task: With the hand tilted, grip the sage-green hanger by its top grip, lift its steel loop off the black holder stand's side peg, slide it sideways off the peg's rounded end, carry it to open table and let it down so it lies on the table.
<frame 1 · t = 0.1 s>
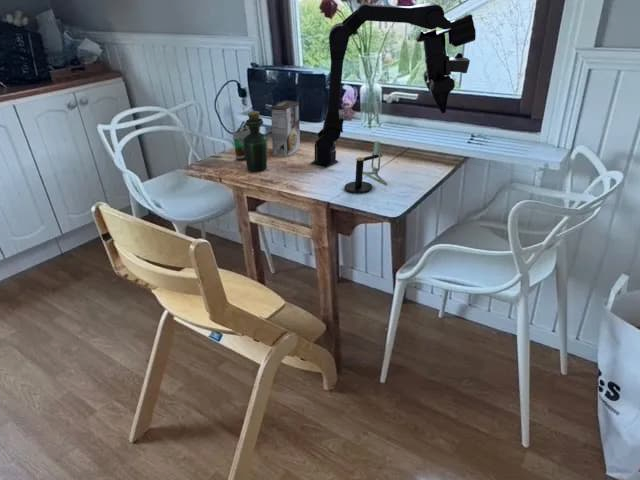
hand: (441, 108, 156), 15 cm above the table, tool pointing down, fingers open, 9 cm apart
black holder stand: (358, 188, 153), on the table
potion bottle: (256, 169, 174), on the table
hanger: (377, 147, 148), point 11 cm above the table, touching black holder stand
coffee box: (286, 152, 185), on the table
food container: (248, 156, 185), on the table
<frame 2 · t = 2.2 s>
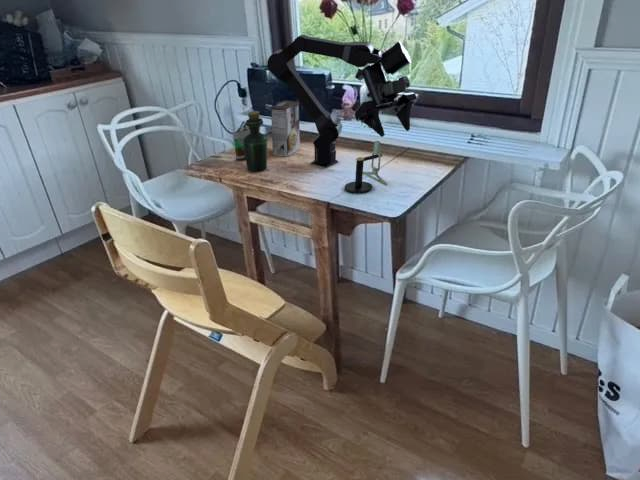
hand: (395, 133, 151), 13 cm above the table, tool tilted 45°, fingers open, 9 cm apart
nothing on the table moved.
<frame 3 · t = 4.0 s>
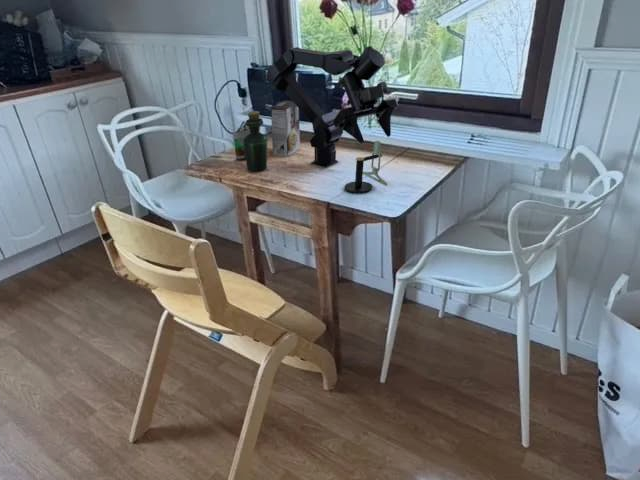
hand: (376, 139, 149), 12 cm above the table, tool tilted 45°, fingers open, 9 cm apart
nothing on the table moved.
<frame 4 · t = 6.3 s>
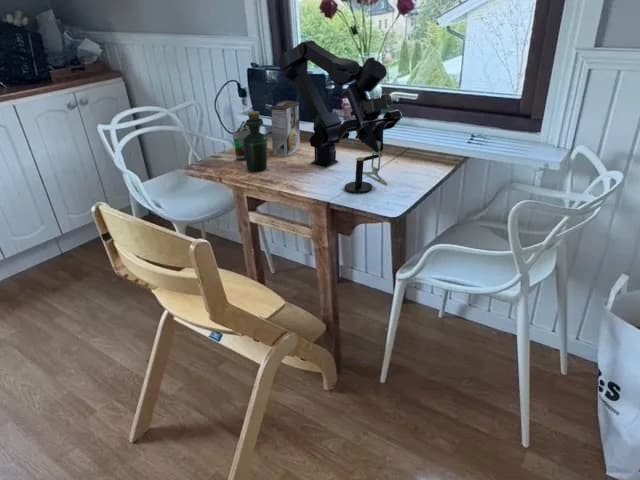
hand: (379, 151, 147), 10 cm above the table, tool tilted 45°, fingers closed on hanger, 1 cm apart
hanger: (377, 147, 148), point 11 cm above the table, touching black holder stand, gripper
everything else where it was.
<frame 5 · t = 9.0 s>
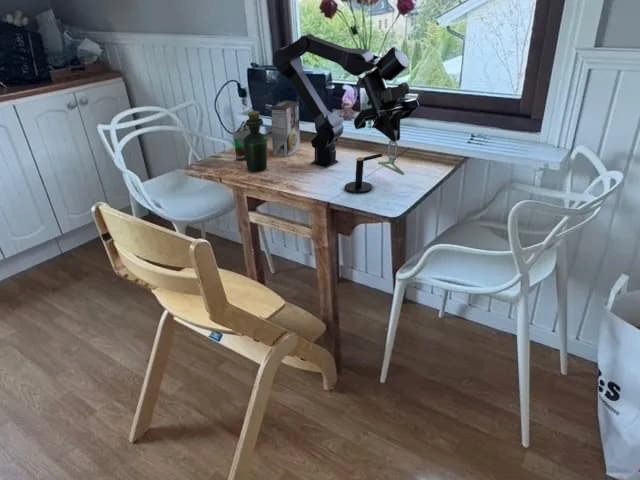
hand: (396, 140, 147), 12 cm above the table, tool tilted 45°, fingers closed on hanger, 1 cm apart
hanger: (394, 136, 148), point 13 cm above the table, touching gripper
everything else where it was.
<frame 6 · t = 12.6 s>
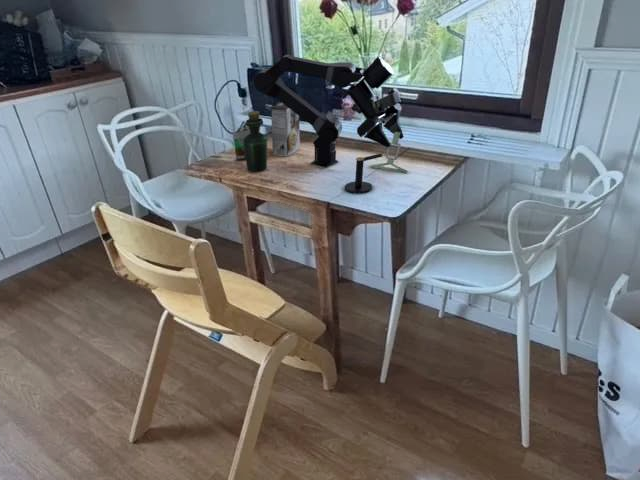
hand: (396, 142, 157), 9 cm above the table, tool tilted 45°, fingers open, 8 cm apart
hanger: (396, 137, 159), point 9 cm above the table, tilted 19°, touching gripper
everything else where it was.
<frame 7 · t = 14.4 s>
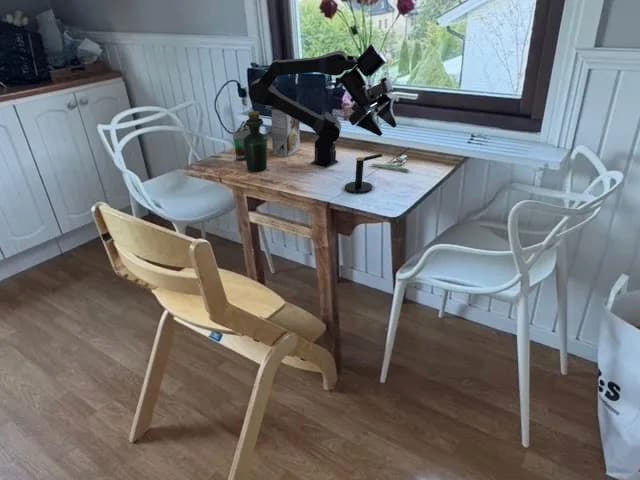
hand: (388, 130, 156), 12 cm above the table, tool tilted 45°, fingers open, 9 cm apart
hanger: (403, 158, 168), point 1 cm above the table, tilted 90°
everything else where it was.
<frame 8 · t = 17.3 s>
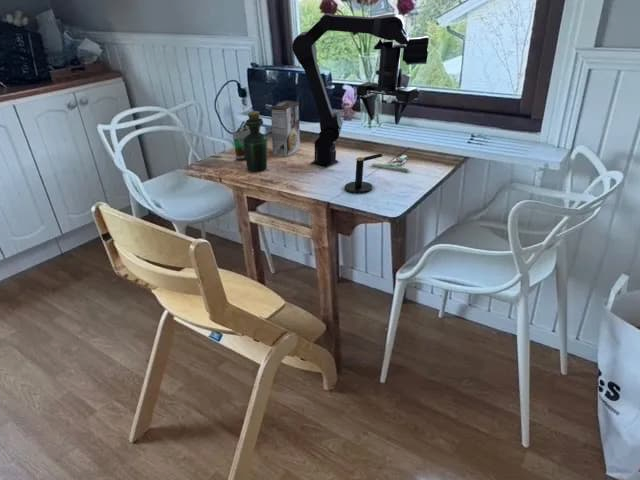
hand: (384, 121, 160), 13 cm above the table, tool pointing down, fingers open, 9 cm apart
nothing on the table moved.
at the end: hanger touching table; hanger inside the target area (10.3 cm from its centre), point 0.5 cm above the table; the gripper is holding nothing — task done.
